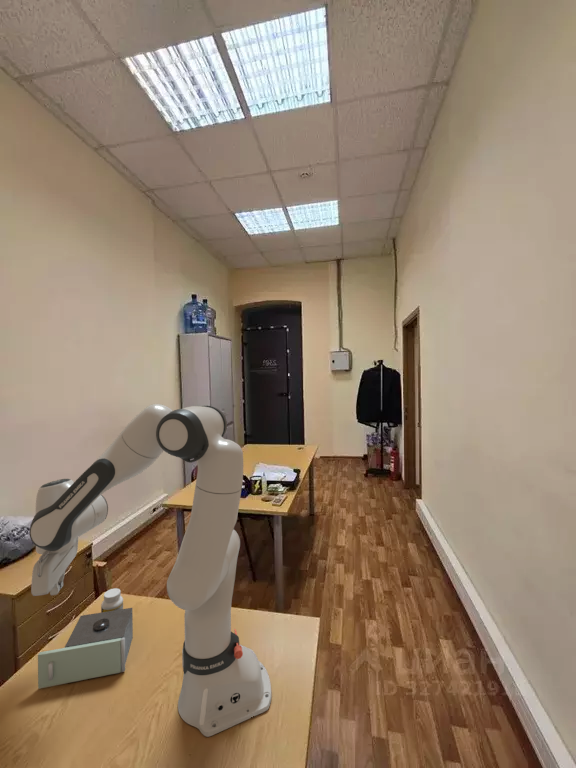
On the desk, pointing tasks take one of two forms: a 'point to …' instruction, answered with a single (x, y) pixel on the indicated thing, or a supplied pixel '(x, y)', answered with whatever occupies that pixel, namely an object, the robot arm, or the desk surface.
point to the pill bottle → (112, 600)
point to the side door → (81, 662)
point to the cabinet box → (103, 628)
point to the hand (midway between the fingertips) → (56, 591)
